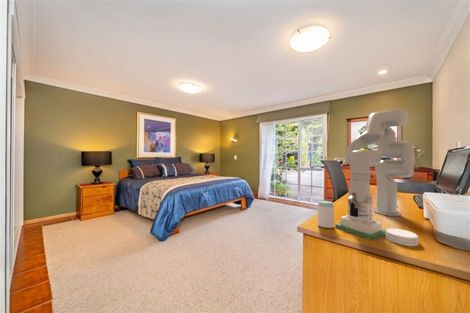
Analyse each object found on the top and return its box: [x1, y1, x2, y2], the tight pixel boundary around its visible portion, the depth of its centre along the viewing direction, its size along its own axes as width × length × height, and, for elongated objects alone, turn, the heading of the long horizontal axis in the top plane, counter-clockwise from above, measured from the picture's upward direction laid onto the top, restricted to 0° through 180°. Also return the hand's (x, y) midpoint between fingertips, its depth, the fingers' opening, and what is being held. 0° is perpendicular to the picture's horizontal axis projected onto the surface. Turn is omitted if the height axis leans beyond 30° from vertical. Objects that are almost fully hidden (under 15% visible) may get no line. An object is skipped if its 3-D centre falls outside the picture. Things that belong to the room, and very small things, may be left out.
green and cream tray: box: [334, 214, 387, 241], centre depth 88 cm, size 12×16×5 cm
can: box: [317, 200, 335, 229], centre depth 93 cm, size 7×7×12 cm
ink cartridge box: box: [347, 195, 374, 225], centre depth 88 cm, size 9×5×15 cm, turn 33°
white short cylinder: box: [385, 227, 419, 247], centre depth 78 cm, size 10×10×4 cm
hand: (359, 214), depth 88 cm, fingers open, 9 cm apart
